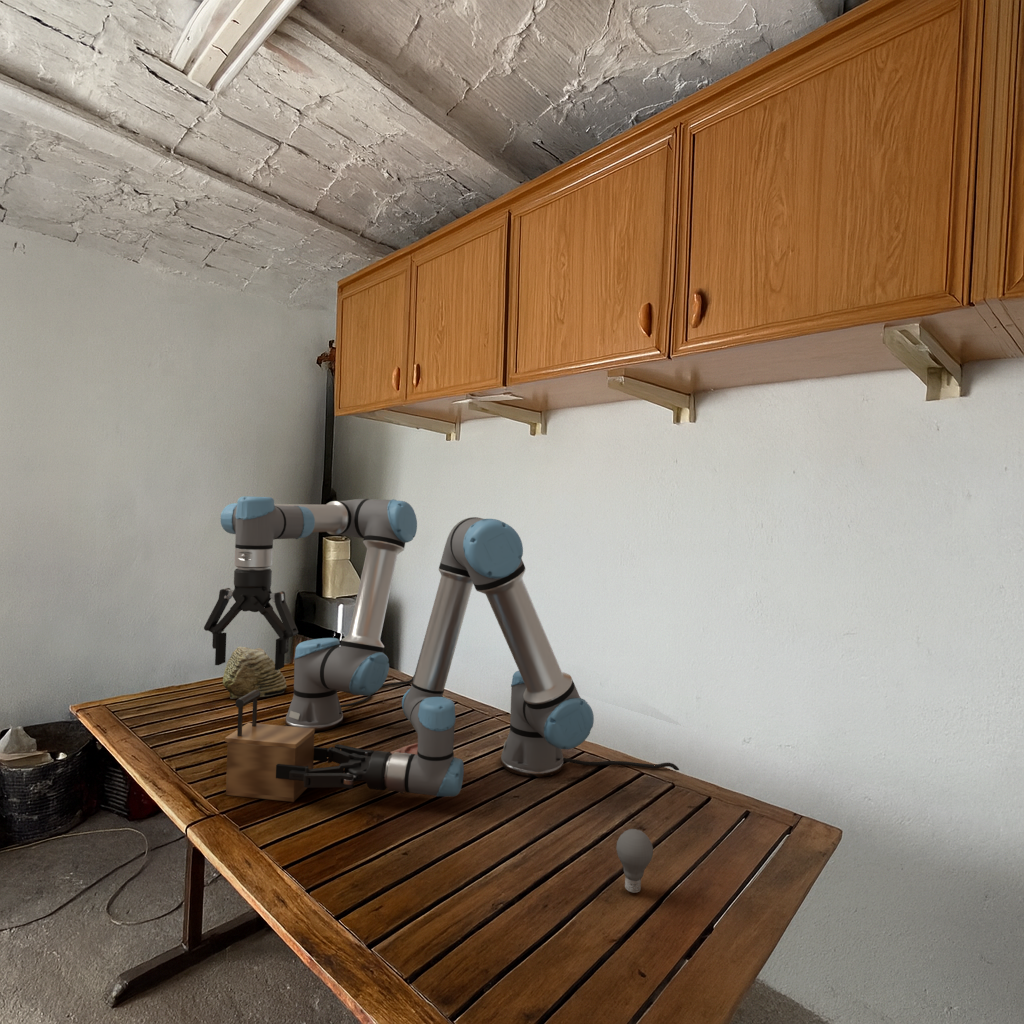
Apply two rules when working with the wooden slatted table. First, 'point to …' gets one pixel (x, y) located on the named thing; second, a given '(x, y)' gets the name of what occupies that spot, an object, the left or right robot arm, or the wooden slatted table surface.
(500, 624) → the right robot arm
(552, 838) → the wooden slatted table surface
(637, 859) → the light bulb
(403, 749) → the anatomical model
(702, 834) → the wooden slatted table surface
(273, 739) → the lid
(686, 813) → the wooden slatted table surface
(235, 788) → the chest
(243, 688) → the fossil
